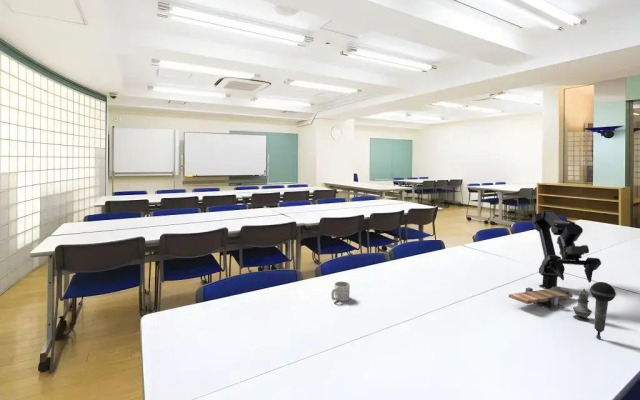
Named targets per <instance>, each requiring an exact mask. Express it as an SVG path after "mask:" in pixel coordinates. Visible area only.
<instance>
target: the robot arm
mask: <svg viewBox="0 0 640 400" xmlns="http://www.w3.org/2000/svg"><path fill="white" fill-rule="evenodd" d="M531 223H532V224H533V227H534V230H536V231H537V232H538V235H539V239H540V244H541V247H542V251H543V256H544V258H543V259H542V261H541V265H540V266H539V268H538V273H539V275H541V276H542V283H541V284H539V285H538V286H539V287H540V288H543V289H551V288H552V287H555V286H556V287H559V288H561V287H560V286H559V285H558V278H560V280H561V281H564V280H565V277H564V274H565V273H564V272H565V265H573V266H574V265H575V266H583V268H584V274H585V276H586V279H587V282H588V283H591V282H592V277H593V272H594V271H596V270H597V269H598V268H599V267H600V266H601V265H602V261H601V259H600V258H598V257H590V256H589V257H586V259H585V260H583V259H582V256H583V255H585V254H586V255H587V254H589V253H590V249H589V246H588V245H587V244H583V245H581V246H580V245H576V244H575V242H576V241H577V240H578V239H579V237H580V236H581V235H582V234H583V231H584V229H583V228H582V226H580V225H579V224H578V223H577V224H576V222H575V221H565V220H562V219H561V218H560V217H559V216H558V215H557V214H556V213H555V211H554V210H547V209H546V210H545V209H544V210H541V212H539V213H536V214H534V215H533V217H532V218H531ZM552 234H553V236H558V237H557V239H556V244H557V245H558V249H559V255H560V256H559V255H558V254H556V251H555V246H554V242H553V238H552V237H553V236H552ZM580 259H581V260H580Z"/></svg>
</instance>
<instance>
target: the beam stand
mask: <svg viewBox="0 0 640 400" xmlns="http://www.w3.org/2000/svg"><path fill="white" fill-rule="evenodd" d="M530 291H534V288H532V287H530V286H529V287H526V288H525V292H530ZM535 304H536V306H537V307H538V306H539V307H541V308H543V307H544V309H547V310H549V311H552V312H553V311H557V310H560V309H563V308H564V307H565V305H564V304H561V303H559V299H558V297H557V296H552V297H551V300H550V301H544V302H538V303H533V305H535Z"/></svg>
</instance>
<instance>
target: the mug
mask: <svg viewBox="0 0 640 400" xmlns="http://www.w3.org/2000/svg"><path fill="white" fill-rule="evenodd" d="M350 293H351V291H350V283H349V282H347V281H337V282H334V288H333V289H332V290H331V295H330V296H331V300H332V301H337V302H348V301H349V300H350Z"/></svg>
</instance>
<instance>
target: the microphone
mask: <svg viewBox="0 0 640 400" xmlns="http://www.w3.org/2000/svg"><path fill="white" fill-rule="evenodd" d="M589 291H590V294H591V296H592V298H593V299H595V308H594V309H595V310H594V311H595V312H594V327H593V328H594V330H595V331H596V332H597V334H596V336H595V338H597V340H601V338H602V337H601V333H603V332H605V326H606V320H607V314H608V313H607V312H608V306H609V302H611V301H613V300H614V299H615V297H616V296H617V292H616V289H615V288H614V286H613V285H611V284H609V283H608V282H604V281H597V282H594V283H593V284H592V285H591V287H590V289H589Z"/></svg>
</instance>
